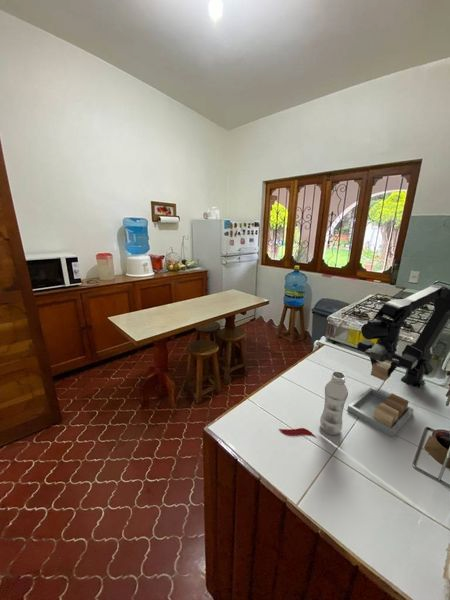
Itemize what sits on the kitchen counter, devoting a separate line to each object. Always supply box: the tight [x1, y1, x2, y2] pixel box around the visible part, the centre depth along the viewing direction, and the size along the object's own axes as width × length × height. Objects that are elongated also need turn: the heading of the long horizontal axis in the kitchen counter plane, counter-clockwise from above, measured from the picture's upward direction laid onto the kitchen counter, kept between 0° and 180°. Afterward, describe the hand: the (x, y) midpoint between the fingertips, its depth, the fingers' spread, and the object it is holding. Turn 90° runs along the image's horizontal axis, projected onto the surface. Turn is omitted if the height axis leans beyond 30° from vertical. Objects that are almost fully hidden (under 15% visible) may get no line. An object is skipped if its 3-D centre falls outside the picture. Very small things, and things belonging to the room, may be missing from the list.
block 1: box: [370, 360, 392, 382], centre depth 95 cm, size 5×5×5 cm
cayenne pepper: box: [278, 427, 316, 438], centre depth 77 cm, size 12×5×2 cm, turn 65°
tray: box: [347, 387, 415, 438], centre depth 84 cm, size 16×14×2 cm
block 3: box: [385, 392, 410, 420], centre depth 83 cm, size 5×5×5 cm
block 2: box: [373, 403, 399, 428], centre depth 79 cm, size 5×5×5 cm
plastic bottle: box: [319, 371, 349, 436], centre depth 75 cm, size 6×7×20 cm
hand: (381, 372), depth 96 cm, fingers closed on block 1, 5 cm apart
